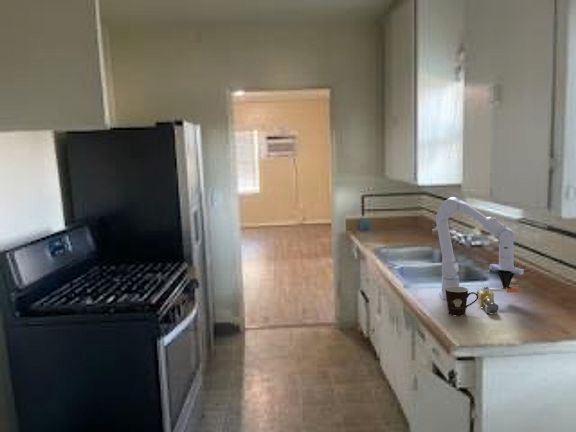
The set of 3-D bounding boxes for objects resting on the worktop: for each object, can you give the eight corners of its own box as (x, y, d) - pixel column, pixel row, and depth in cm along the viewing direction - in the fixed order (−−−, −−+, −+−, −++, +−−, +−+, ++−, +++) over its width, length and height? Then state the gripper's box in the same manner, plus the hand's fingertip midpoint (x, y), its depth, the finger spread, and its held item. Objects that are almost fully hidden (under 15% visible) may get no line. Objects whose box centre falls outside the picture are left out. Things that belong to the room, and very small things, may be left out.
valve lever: (483, 292, 211) (483, 288, 211) (481, 291, 213) (481, 286, 213) (518, 292, 209) (518, 287, 209) (516, 290, 211) (516, 286, 211)
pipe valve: (475, 300, 221) (475, 286, 220) (487, 300, 220) (487, 286, 220) (486, 315, 201) (486, 300, 200) (500, 315, 200) (500, 300, 200)
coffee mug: (442, 314, 205) (441, 290, 203) (450, 308, 211) (449, 285, 210) (471, 319, 198) (471, 294, 196) (478, 313, 204) (478, 288, 203)
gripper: (485, 255, 219) (485, 286, 220) (516, 260, 207) (516, 293, 208) (495, 253, 223) (494, 283, 224) (526, 258, 211) (526, 290, 212)
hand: (506, 288), depth 217 cm, fingers closed
